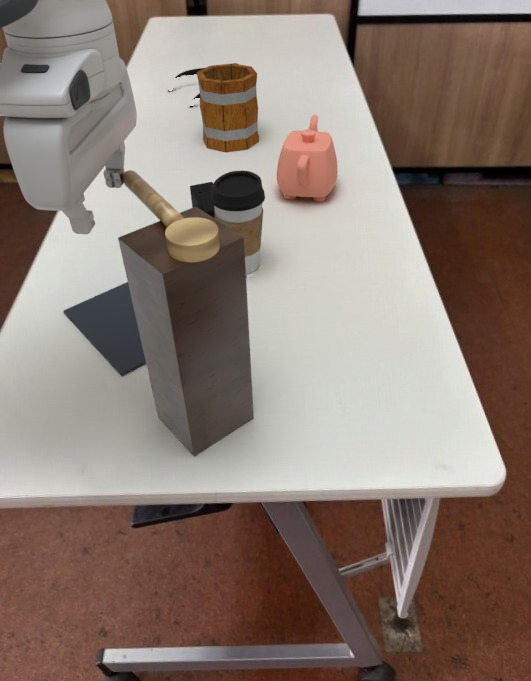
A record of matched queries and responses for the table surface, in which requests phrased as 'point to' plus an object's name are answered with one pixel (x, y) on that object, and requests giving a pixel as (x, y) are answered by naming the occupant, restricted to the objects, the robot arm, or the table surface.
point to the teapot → (307, 164)
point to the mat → (111, 327)
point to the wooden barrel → (229, 106)
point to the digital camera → (202, 197)
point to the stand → (193, 332)
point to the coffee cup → (241, 210)
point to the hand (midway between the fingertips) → (101, 206)
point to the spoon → (177, 224)
